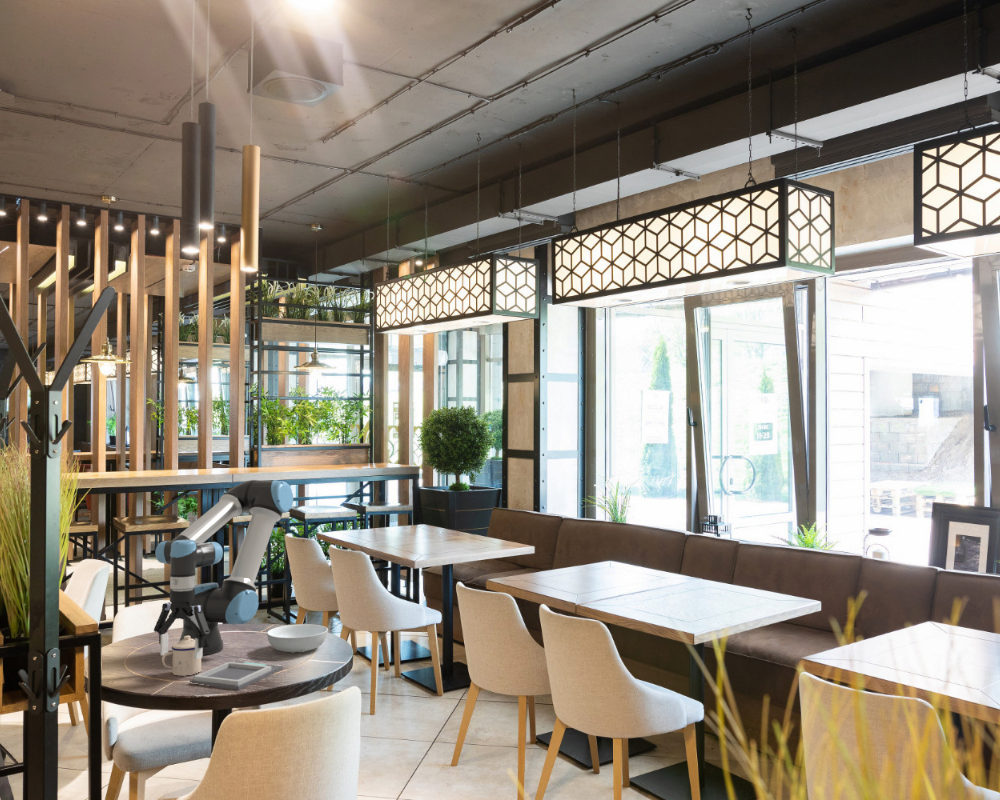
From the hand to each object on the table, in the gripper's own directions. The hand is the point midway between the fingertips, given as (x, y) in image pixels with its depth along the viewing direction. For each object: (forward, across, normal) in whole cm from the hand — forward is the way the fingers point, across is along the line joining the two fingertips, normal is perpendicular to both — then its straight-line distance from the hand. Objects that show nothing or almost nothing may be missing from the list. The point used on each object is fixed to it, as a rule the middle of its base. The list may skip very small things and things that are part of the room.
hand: (181, 656), depth 259 cm
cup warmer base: (+5, +19, +4) cm, 20 cm away
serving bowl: (+5, +19, +36) cm, 41 cm away
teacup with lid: (+6, 0, 0) cm, 6 cm away
